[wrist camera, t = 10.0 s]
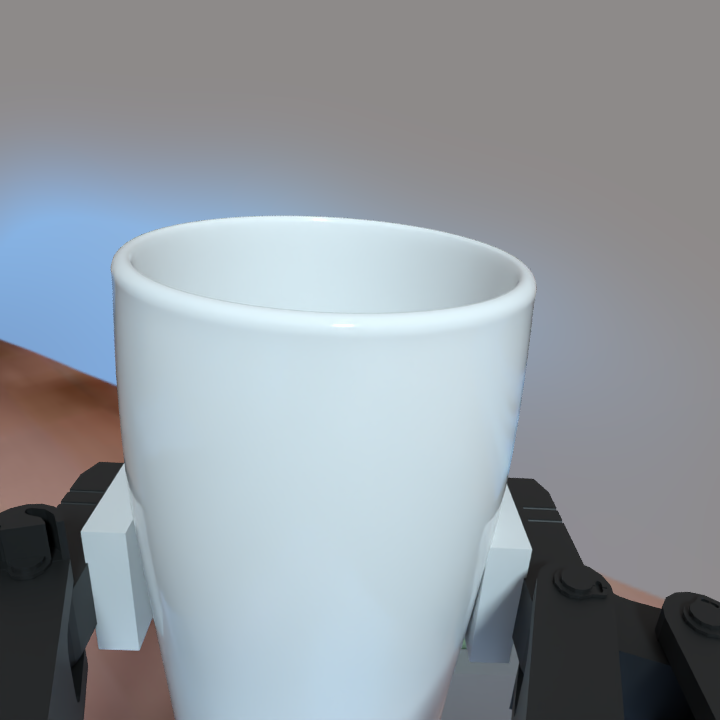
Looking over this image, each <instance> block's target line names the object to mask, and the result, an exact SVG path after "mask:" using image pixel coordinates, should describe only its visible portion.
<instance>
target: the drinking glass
mask: <svg viewBox="0 0 720 720" xmlns="http://www.w3.org/2000/svg"><path fill="white" fill-rule="evenodd" d="M111 274H112V289H113V317H114V343H115V362H116V378H117V393H118V405H119V416H120V427H121V437H122V446H123V455H124V464H125V472H126V479H127V486H128V493H129V500H130V506H131V512H132V517H133V523H134V529H135V534H136V539H137V544H138V549H139V554H140V559H141V564H142V569H143V573H144V578H145V583H146V587H147V592H148V597H149V601H150V606H151V610H152V615H153V620H154V624H155V629H156V634H157V638H158V643H159V647H160V652H161V657H162V661H163V666H164V670H165V675H166V680H167V685H168V689H169V694H170V699H171V703H172V708H173V713H174V718H175V720H440V719H441V716H442V713H443V709H444V706H445V702H446V699H447V695H448V692H449V689H450V685H451V682H452V678H453V675H454V672H455V668H456V665H457V662H458V658H459V655H460V651H461V648H462V645H463V641H464V638H465V635H466V631H467V628H468V625H469V621H470V618H471V615H472V611H473V608H474V604H475V601H476V598H477V594H478V591H479V587H480V584H481V580H482V576H483V572H484V569H485V565H486V561H487V558H488V554H489V551H490V547H491V544H492V542H493V538H494V534H495V531H496V527H497V523H498V519H499V515H500V511H501V507H502V502H503V498H504V493H505V489H506V484H507V479H508V474H509V469H510V464H511V459H512V454H513V449H514V443H515V437H516V432H517V426H518V420H519V414H520V407H521V401H522V394H523V388H524V380H525V373H526V366H527V358H528V350H529V342H530V333H531V325H532V316H533V308H534V301H535V295H536V290H537V289H536V288H537V287H536V281H535V277H534V275H533V274H532V272H531V270H530V269H529V268H528V267H527V266H526V265H525V264H524V263H522V262H521V261H520V260H519V259H517V258H516V257H514V256H512V255H511V254H509V253H507V252H505V251H503V250H500V249H498V248H496V247H493V246H491V245H488V244H485V243H483V242H480V241H477V240H473V239H470V238H466V237H463V236H459V235H455V234H451V233H446V232H442V231H437V230H432V229H427V228H421V227H415V226H410V225H403V224H396V223H388V222H380V221H371V220H362V219H350V218H335V217H317V216H251V217H235V218H221V219H212V220H203V221H196V222H189V223H183V224H178V225H173V226H169V227H164V228H161V229H157V230H154V231H151V232H148V233H145V234H142V235H140V236H138V237H136V238H134V239H132V240H130V241H129V242H127V243H125V244H124V245H123V246H122V247H121V248H120V249H119V250H118V251H117V252H116V254H115V255H114V257H113V260H112V264H111Z"/></svg>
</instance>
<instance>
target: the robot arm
mask: <svg viewBox="0 0 720 720" xmlns="http://www.w3.org/2000/svg"><path fill="white" fill-rule="evenodd" d="M152 617H153V615H152V610H151V606H150V601H149V597H148V592H147V587H146V583H145V578H144V573H143V569H142V564H141V559H140V554H139V549H138V544H137V539H136V534H135V529H134V523H133V517H132V512H131V506H130V500H129V493H128V486H127V479H126V472H125V464H124V463H111V462H99V463H97V464H96V465H94V466H93V467H91V468H90V469H88V470H87V471H85V472H84V473H82V474H81V475H80V476H79V478H78V479H77V480H76V482H75V483H74V484H73V486H72V487H71V488H70V492H68V493H67V494H66V495H65V497H64V498H63V499H62V501H61V504H59V505H58V506H57V508H56V507H53V506H49V505H45V504H27V505H22V506H18V507H14V508H10V509H8V510H6V511H3V512H1V513H0V720H84V708H85V696H86V684H87V672H88V663H87V657H86V651H85V648H86V645H87V643H88V641H89V639H90V637H91V635H92V633H93V631H94V629H95V628H96V634H97V641H98V647H99V649H110V650H140V648H141V645H142V643H143V640H144V638H145V635H146V633H147V630H148V628H149V625H150V622H151V620H152ZM465 642H466V647H467V652H468V657H469V662H483V663H509V661H510V656H511V651H512V646H513V642H514V646H515V649H516V653H517V656H518V660H519V665H518V670H517V674H516V679H515V684H514V689H513V693H512V698H511V703H510V707H509V709H511V710H512V717H511V720H720V602H718V601H716V600H713V599H711V598H709V597H707V596H705V595H700V594H696V593H691V592H678V593H674V594H672V595H670V596H668V597H666V599H665V601H664V604H663V606H662V609H660V608H656V607H652V606H649V605H645V604H641V603H638V602H634V601H631V600H628V599H625V598H622V597H619V596H617V595H615V594H614V593H613V591H612V588H611V585H610V584H609V583H608V582H607V581H606V580H605V579H604V577H603V576H602V575H600V574H599V573H597V572H596V571H594V570H593V569H591V568H590V567H587V566H585V565H584V564H583V562H582V560H581V558H580V556H579V554H578V552H577V550H576V548H575V546H574V543H573V541H572V539H571V537H570V535H569V533H568V531H567V529H566V527H565V525H564V523H562V519H561V517H560V515H559V512H558V511H556V507H555V504H554V502H553V501H552V498H551V496H550V494H549V492H548V491H547V490H545V489H544V488H543V487H542V486H541V485H540V484H538V483H537V482H536V481H535V480H534V479H524V478H508V479H507V484H506V489H505V493H504V498H503V502H502V507H501V511H500V515H499V519H498V523H497V527H496V531H495V534H494V538H493V542H492V544H491V547H490V551H489V554H488V558H487V561H486V565H485V569H484V572H483V576H482V580H481V584H480V587H479V591H478V594H477V598H476V601H475V604H474V608H473V611H472V615H471V618H470V621H469V625H468V628H467V631H466V635H465Z"/></svg>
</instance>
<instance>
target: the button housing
mask: <svg viewBox="0 0 720 720" xmlns="http://www.w3.org/2000/svg"><path fill="white" fill-rule="evenodd" d="M518 665H519V660H518V656H517V653H516V649H515V646H514V642H513V646H512V651H511V656H510V661H509V663H483V662H469V657H468V652H467V649H461V651H460V655H459V658H458V662H457V665H456V668H455V672H454V675H453V678H452V682H451V685H450V689H449V692H448V695H447V699H446V702H445V706H444V709H443V713H442V716H441V719H440V720H511V717H512V710H511V709H509V707H510V703H511V698H512V693H513V689H514V684H515V679H516V674H517V670H518Z"/></svg>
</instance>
